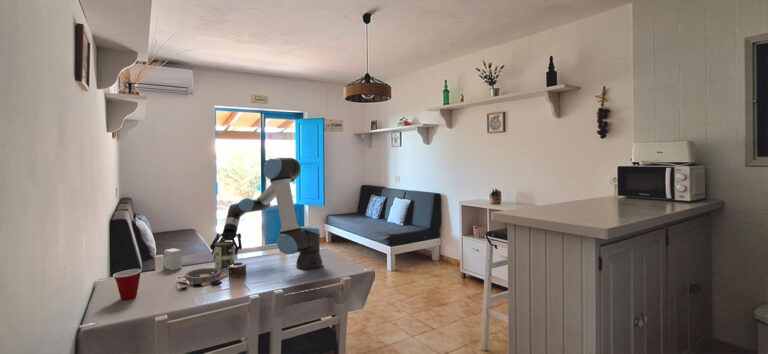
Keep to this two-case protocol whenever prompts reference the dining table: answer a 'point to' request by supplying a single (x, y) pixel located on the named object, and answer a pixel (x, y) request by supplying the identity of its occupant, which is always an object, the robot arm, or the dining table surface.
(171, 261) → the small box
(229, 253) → the coffee can
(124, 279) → the plastic cup
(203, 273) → the collar plate
